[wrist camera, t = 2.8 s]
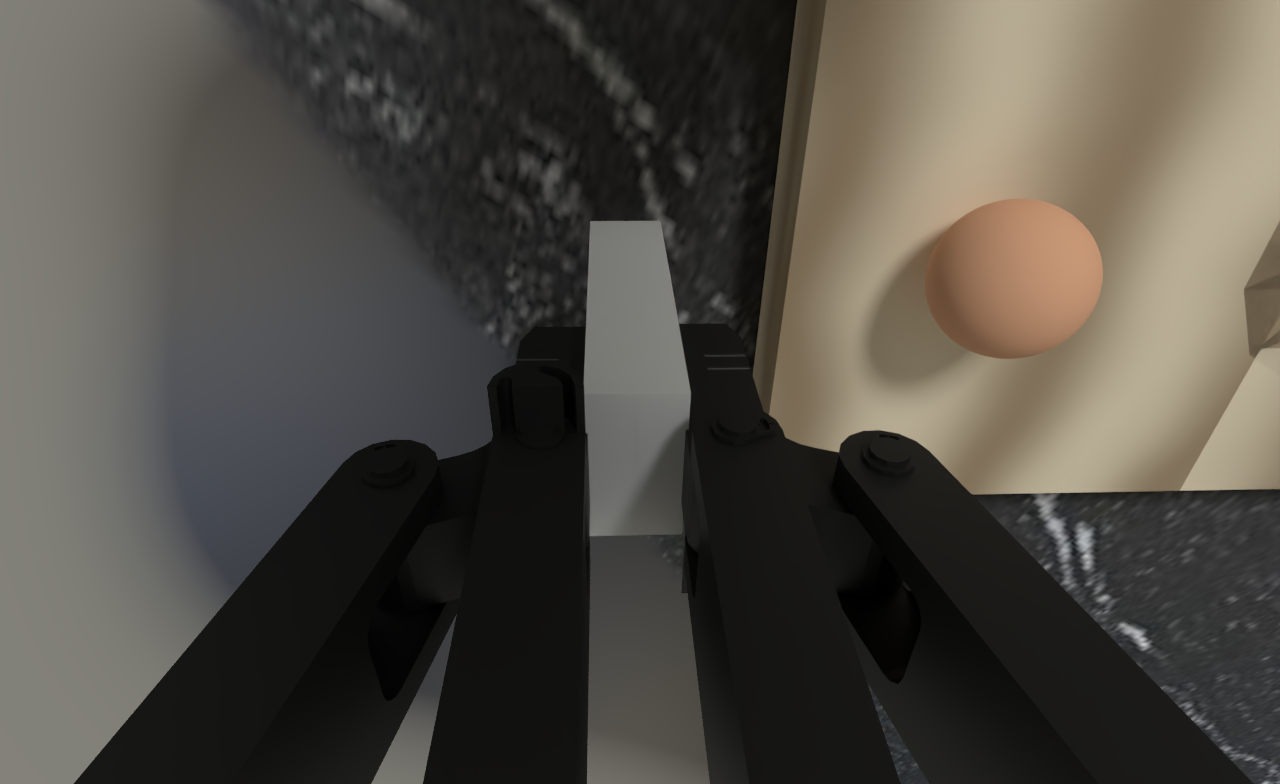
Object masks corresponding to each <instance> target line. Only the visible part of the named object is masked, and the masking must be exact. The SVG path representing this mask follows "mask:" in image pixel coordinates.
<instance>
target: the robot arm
mask: <svg viewBox="0 0 1280 784" xmlns="http://www.w3.org/2000/svg"><path fill="white" fill-rule="evenodd" d="M487 390H488V398H489V406H490V414H491V422H492V430H493V438H492V441H491V442H489V443H488V444H487V445H485V446H483V447H481V448H479V449H477V450H475V451H472V452H469V453H465V454H462V455H459V456H454V457H450V458H446V459H441V460H437V456H436V453H435V452H434V451H432V450H431V449H430V448H429V447H428V446H427V445H425V444H422V443H419V442H415V441H412V440H389V441H385V442H380V443H376V444H372V445H370V446H368V447H366V448H364V449H361V450H359V451H357V452H355V453H354V454H353V455H352V456H351V457H350V458H348V459H347V460H346V461H345V462H344V463H343V464H342V465H341V466H340V467H339V468H338V470H337V471H336V472H335V473H334V474H333V476H332V477H331V478H330V479H329V480H328V482H327V483H326V484H325V485H324V486H323V488H322V489H321V490H320V491H319V492H318V494H317V495H316V496H315V497H314V498H313V499H312V501H311V502H310V503H309V504H308V505H307V507H306V508H305V509H304V510H303V511H302V512H301V514H300V515H299V516H298V517H297V518H296V520H295V521H294V522H293V523H292V524H291V526H290V527H289V528H288V529H287V530H286V532H285V533H284V534H283V535H282V537H281V538H280V539H279V540H278V541H277V542H276V544H275V545H274V546H273V547H272V548H271V550H270V551H269V552H268V553H267V554H266V555H265V557H264V558H263V559H262V560H261V561H260V562H259V564H258V565H257V566H256V567H255V569H254V570H253V571H252V572H251V573H250V575H249V576H248V577H247V578H246V579H245V580H244V582H243V583H242V584H241V585H240V586H239V587H238V589H237V590H236V591H235V592H234V594H233V595H232V596H231V597H230V598H229V599H228V601H227V602H226V603H225V604H224V605H223V607H222V608H221V609H220V610H219V611H218V612H217V614H216V615H215V616H214V617H213V618H212V620H211V621H210V622H209V623H208V624H207V626H206V627H205V628H204V629H203V630H202V632H201V633H200V634H199V635H198V636H197V638H196V639H195V640H194V641H193V642H192V643H191V645H190V646H189V647H188V648H187V650H186V651H185V652H184V653H183V654H182V655H181V657H180V658H179V659H178V660H177V661H176V663H175V664H174V665H173V666H172V667H171V668H170V670H169V671H168V672H167V673H166V674H165V676H164V677H163V678H162V679H161V680H160V682H159V683H158V684H157V685H156V687H155V688H154V689H153V690H152V691H151V692H150V694H149V695H148V696H147V697H146V698H145V699H144V701H143V702H142V703H141V704H140V706H139V707H138V708H137V709H136V710H135V712H134V713H133V714H132V715H131V716H130V717H129V718H128V720H127V721H126V722H125V723H124V724H123V726H122V727H121V728H120V729H119V730H118V732H117V733H116V734H115V735H114V736H113V738H112V739H111V740H110V741H109V742H108V744H107V745H106V746H105V747H104V748H103V749H102V751H101V752H100V753H99V754H98V755H97V757H96V758H95V759H94V760H93V761H92V763H91V764H90V765H89V766H88V767H87V769H86V770H85V771H84V772H83V773H82V774H81V776H80V777H79V778H78V779H77V780H76V782H75V783H74V784H371V783H372V781H373V779H374V777H375V775H376V773H377V771H378V769H379V767H380V765H381V763H382V761H383V759H384V757H385V755H386V753H387V751H388V749H389V747H390V745H391V743H392V741H393V739H394V737H395V735H396V733H397V731H398V729H399V727H400V725H401V723H402V721H403V719H404V717H405V715H406V713H407V711H408V709H409V707H410V705H411V703H412V701H413V699H414V697H415V695H416V693H417V691H418V689H419V687H420V685H421V683H422V681H423V679H424V677H425V675H426V673H427V671H428V669H429V667H430V665H431V663H432V662H433V660H434V658H435V656H436V654H437V651H438V649H439V647H440V646H441V644H442V642H443V640H444V638H445V636H446V634H447V632H448V630H449V628H450V626H451V624H452V622H453V620H454V617H455V616H456V614H457V617H456V622H455V627H454V632H453V637H452V642H451V647H450V652H449V657H448V662H447V667H446V672H445V676H444V682H443V686H442V692H441V697H440V701H439V707H438V711H437V717H436V722H435V726H434V731H433V736H432V741H431V746H430V751H429V756H428V761H427V766H426V771H425V776H424V781H423V784H587V735H588V672H589V669H588V668H589V667H588V666H589V610H590V607H589V606H590V541H589V536H621V535H670V534H682V528H683V520H684V528H685V548H684V563H683V578H682V593H688V600H689V608H690V617H691V625H692V634H693V642H694V651H695V659H696V667H697V676H698V685H699V692H700V701H701V710H702V718H703V727H704V736H705V744H706V752H707V761H708V770H709V778H710V784H900V781H899V778H898V775H897V772H896V769H895V766H894V763H893V760H892V757H891V754H890V751H889V748H888V745H887V742H886V739H885V735H884V732H883V729H882V726H881V723H880V720H879V717H878V714H877V711H876V708H875V705H874V702H873V699H872V696H871V693H870V690H869V687H868V684H869V685H870V687H871V689H872V690H873V692H874V693H875V695H876V697H877V698H878V700H879V702H880V703H881V705H882V707H883V708H884V710H885V711H886V713H887V715H888V716H889V718H890V720H891V721H892V723H893V725H894V726H895V728H896V729H897V731H898V733H899V734H900V736H901V738H902V739H903V741H904V743H905V744H906V746H907V748H908V749H909V751H910V752H911V754H912V756H913V757H914V759H915V761H916V762H917V764H918V766H919V767H920V769H921V770H922V772H923V774H924V775H925V777H926V779H927V780H928V782H929V784H1253V783H1252V782H1251V780H1250V779H1249V778H1248V777H1247V776H1246V775H1245V774H1244V773H1243V772H1242V771H1241V770H1240V769H1239V768H1238V767H1237V766H1236V765H1235V764H1234V763H1233V762H1232V761H1231V760H1230V759H1229V758H1228V757H1227V756H1226V755H1225V754H1224V753H1223V752H1222V751H1221V750H1220V749H1219V748H1218V747H1217V746H1216V745H1215V744H1214V743H1213V742H1212V740H1211V739H1210V738H1209V737H1208V736H1207V735H1206V734H1205V733H1204V732H1203V731H1202V730H1201V729H1200V728H1199V727H1198V726H1197V725H1196V724H1195V723H1194V722H1193V721H1192V720H1191V719H1190V718H1189V717H1188V716H1187V715H1186V714H1185V713H1184V712H1183V711H1182V710H1181V709H1180V708H1179V707H1178V706H1177V705H1176V704H1175V703H1174V701H1173V700H1172V699H1171V698H1170V697H1169V696H1168V695H1167V694H1166V693H1165V692H1164V691H1163V690H1162V689H1161V688H1160V687H1159V686H1158V685H1157V684H1156V683H1155V682H1154V681H1153V680H1152V679H1151V678H1150V677H1149V676H1148V675H1147V674H1146V673H1145V672H1144V671H1143V670H1142V669H1141V668H1140V667H1139V666H1138V665H1137V664H1136V663H1135V661H1134V660H1133V659H1132V658H1131V657H1130V656H1129V655H1128V654H1127V653H1126V652H1125V651H1124V650H1123V649H1122V648H1121V647H1120V646H1119V645H1118V644H1117V643H1116V642H1115V641H1114V640H1113V639H1112V638H1111V637H1110V636H1109V635H1108V634H1107V633H1106V632H1105V631H1104V630H1103V629H1102V628H1101V627H1100V626H1099V625H1098V624H1097V623H1096V621H1095V620H1094V619H1093V618H1092V617H1091V616H1090V615H1089V614H1088V613H1087V612H1086V611H1085V610H1084V609H1083V608H1082V607H1081V606H1080V605H1079V604H1078V603H1077V602H1076V601H1075V600H1074V599H1073V598H1072V597H1071V596H1070V595H1069V594H1068V593H1067V592H1066V591H1065V590H1064V589H1063V588H1062V587H1061V586H1060V585H1059V584H1058V583H1057V581H1056V580H1055V579H1054V578H1053V577H1052V576H1051V575H1050V574H1049V573H1048V572H1047V571H1046V570H1045V569H1044V568H1043V567H1042V566H1041V565H1040V564H1039V563H1038V562H1037V561H1036V560H1035V559H1034V558H1033V557H1032V556H1031V555H1030V554H1029V553H1028V552H1027V551H1026V550H1025V549H1024V548H1023V547H1022V546H1021V545H1020V544H1019V542H1018V541H1017V540H1016V539H1015V538H1014V537H1013V536H1012V535H1011V534H1010V533H1009V532H1008V531H1007V530H1006V529H1005V528H1004V527H1003V526H1002V525H1001V524H1000V523H999V522H998V521H997V520H996V519H995V518H994V517H993V516H992V515H991V514H990V513H989V512H988V511H987V510H986V509H985V508H984V507H983V506H982V505H981V504H980V502H979V501H978V500H977V499H976V498H975V497H974V496H973V495H972V494H971V493H970V492H969V491H968V490H967V489H966V488H965V487H964V486H963V485H962V484H961V483H960V482H959V481H958V480H957V479H956V478H955V477H954V476H953V475H952V474H951V473H950V472H949V471H948V470H947V469H946V468H945V467H944V466H943V465H942V464H941V462H940V461H939V460H938V459H937V458H936V457H935V456H934V455H933V454H932V453H931V452H930V451H929V450H927V449H926V448H925V447H923V446H922V445H921V444H919V443H918V442H917V441H915V440H913V439H910V438H908V437H905V436H903V435H901V434H898V433H892V432H887V431H882V430H873V431H861V432H858V433H855V434H852V435H850V436H848V437H847V438H846V439H845V440H844V441H843V442H842V443H841V445H840V449H839V452H834V451H829V450H824V449H819V448H814V447H810V446H806V445H802V444H799V443H796V442H794V441H792V440H790V439H787V438H786V437H785V435H784V432H783V429H782V428H781V426H780V425H779V423H778V422H777V420H776V419H774V418H773V417H771V416H770V415H768V414H767V413H765V412H764V411H763V407H762V404H761V401H760V398H759V395H758V391H757V388H756V385H755V382H754V379H753V375H752V372H751V369H750V366H749V363H748V359H747V356H746V353H745V350H744V347H743V343H742V340H741V337H740V336H738V335H737V334H736V333H735V332H734V331H733V330H732V329H731V328H729V327H728V326H727V325H726V324H679V323H678V317H677V311H676V306H675V300H674V294H673V289H672V283H671V277H670V272H669V266H668V260H667V255H666V249H665V243H664V238H663V232H662V226H661V221H590V240H589V265H588V289H587V314H586V327H534V328H533V329H532V330H531V331H530V332H529V333H528V334H527V335H526V336H525V337H524V338H523V339H522V340H521V341H520V345H519V351H518V356H517V361H516V365H513V366H510V367H507V368H505V369H503V370H502V371H500V372H499V373H498V374H496V375H495V376H493V378H492V379H491V381H490V383H489V384H488V386H487ZM866 680H867V681H866ZM867 682H868V684H867Z"/></svg>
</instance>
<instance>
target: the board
mask: <svg viewBox="0 0 1280 784" xmlns="http://www.w3.org/2000/svg"><path fill="white" fill-rule="evenodd" d="M1006 199H1034V200H1039V201H1043V202H1047V203H1050V204H1053V205H1056V206H1058V207H1060V208H1062V209H1064V210H1066V211H1067V212H1069V213H1071V214H1072V215H1073V216H1075V217H1076V218H1077V219H1078V220H1079V221H1080V222H1081V223H1083V224H1084V226H1085V227H1086V228H1087V229H1088V231H1089V232H1090V233H1091V235H1092V236H1093V238H1094V240H1095V242H1096V244H1097V246H1098V249H1099V252H1100V255H1101V258H1102V266H1103V282H1102V287H1101V292H1100V295H1099V298H1098V301H1097V304H1096V306H1095V308H1094V310H1093V311H1092V313H1091V315H1090V316H1089V318H1088V319H1087V320H1086V322H1085V323H1084V324H1083V326H1082V327H1081V328H1080V329H1079V330H1078V331H1077V332H1076V333H1075V334H1073V335H1072V336H1071V337H1070V338H1069V339H1067V340H1066V341H1064V342H1063V343H1061V344H1060V345H1058V346H1056V347H1054V348H1052V349H1050V350H1048V351H1045V352H1043V353H1040V354H1037V355H1034V356H1030V357H1025V358H1015V359H999V358H993V357H987V356H983V355H979V354H976V353H974V352H971V351H969V350H967V349H965V348H963V347H962V346H960V345H959V344H957V343H956V342H954V341H953V340H951V339H950V338H949V337H948V336H947V335H946V334H945V333H944V332H943V331H942V330H941V328H940V327H939V325H938V324H937V323H936V321H935V319H934V318H933V316H932V313H931V311H930V309H929V305H928V302H927V298H926V291H925V276H926V271H927V266H928V263H929V260H930V256H931V254H932V252H933V250H934V248H935V246H936V244H937V243H938V241H939V240H940V238H941V237H942V236H943V234H944V233H945V232H946V231H947V230H948V229H949V228H950V227H951V226H952V225H953V224H954V223H955V222H956V221H958V220H959V219H960V218H962V217H963V216H964V215H966V214H967V213H969V212H971V211H973V210H975V209H976V208H979V207H981V206H983V205H986V204H989V203H993V202H996V201H1001V200H1006ZM753 379H754V382H755V385H756V388H757V391H758V395H759V398H760V401H761V404H762V407H763V411H764V412H765V413H767V414H768V415H770V416H771V417H773V418H774V419H776V420H777V422H778V423H779V425H780V426H781V428H782V429H783V432H784V435H785V437H786V438H787V439H790V440H792V441H794V442H796V443H799V444H802V445H806V446H810V447H814V448H819V449H824V450H829V451H834V452H839V449H840V445H841V443H842V442H843V441H844V440H845V439H846V438H847V437H848V436H850V435H852V434H855V433H858V432H861V431H873V430H882V431H887V432H892V433H898V434H901V435H903V436H905V437H908V438H910V439H913V440H915V441H917V442H918V443H919V444H921V445H922V446H923V447H925V448H926V449H927V450H929V451H930V452H931V453H932V454H933V455H934V456H935V457H936V458H937V459H938V460H939V461H940V462H941V464H942V465H943V466H944V467H945V468H946V469H947V470H948V471H949V472H950V473H951V474H952V475H953V476H954V477H955V478H956V479H957V480H958V481H959V482H960V483H961V484H962V485H963V486H964V487H965V488H966V489H967V490H968V491H969V492H970V493H971V494H1026V493H1082V492H1137V491H1193V490H1248V489H1280V0H797V7H796V16H795V24H794V33H793V41H792V49H791V58H790V66H789V75H788V83H787V91H786V100H785V108H784V117H783V125H782V133H781V142H780V150H779V159H778V167H777V175H776V184H775V192H774V201H773V209H772V217H771V226H770V234H769V243H768V251H767V259H766V268H765V276H764V285H763V293H762V301H761V310H760V318H759V327H758V335H757V343H756V352H755V360H754V368H753Z"/></svg>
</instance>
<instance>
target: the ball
mask: <svg viewBox="0 0 1280 784" xmlns="http://www.w3.org/2000/svg"><path fill="white" fill-rule="evenodd" d="M1102 282H1103V266H1102V258H1101V255H1100V252H1099V249H1098V246H1097V244H1096V242H1095V240H1094V238H1093V236H1092V235H1091V233H1090V232H1089V231H1088V229H1087V228H1086V227H1085V226H1084V224H1083V223H1081V222H1080V221H1079V220H1078V219H1077V218H1076V217H1075V216H1073V215H1072V214H1071V213H1069V212H1067V211H1066V210H1064V209H1062V208H1060V207H1058V206H1056V205H1053V204H1050V203H1047V202H1043V201H1039V200H1034V199H1006V200H1001V201H996V202H993V203H989V204H986V205H983V206H981V207H979V208H976V209H975V210H973V211H971V212H969V213H967V214H966V215H964V216H963V217H962V218H960V219H959V220H958V221H956V222H955V223H954V224H953V225H952V226H951V227H950V228H949V229H948V230H947V231H946V232H945V233H944V234H943V236H942V237H941V238H940V240H939V241H938V243H937V244H936V246H935V248H934V250H933V252H932V254H931V256H930V260H929V263H928V266H927V271H926V276H925V291H926V298H927V302H928V305H929V309H930V311H931V313H932V316H933V318H934V319H935V321H936V323H937V324H938V325H939V327H940V328H941V330H942V331H943V332H944V333H945V334H946V335H947V336H948V337H949V338H950V339H951V340H953V341H954V342H956V343H957V344H959V345H960V346H962V347H963V348H965V349H967V350H969V351H971V352H974V353H976V354H979V355H983V356H987V357H993V358H999V359H1015V358H1025V357H1030V356H1034V355H1037V354H1040V353H1043V352H1045V351H1048V350H1050V349H1052V348H1054V347H1056V346H1058V345H1060V344H1061V343H1063V342H1064V341H1066V340H1067V339H1069V338H1070V337H1071V336H1072V335H1073V334H1075V333H1076V332H1077V331H1078V330H1079V329H1080V328H1081V327H1082V326H1083V324H1084V323H1085V322H1086V320H1087V319H1088V318H1089V316H1090V315H1091V313H1092V311H1093V310H1094V308H1095V306H1096V304H1097V301H1098V298H1099V295H1100V292H1101V287H1102Z"/></svg>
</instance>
